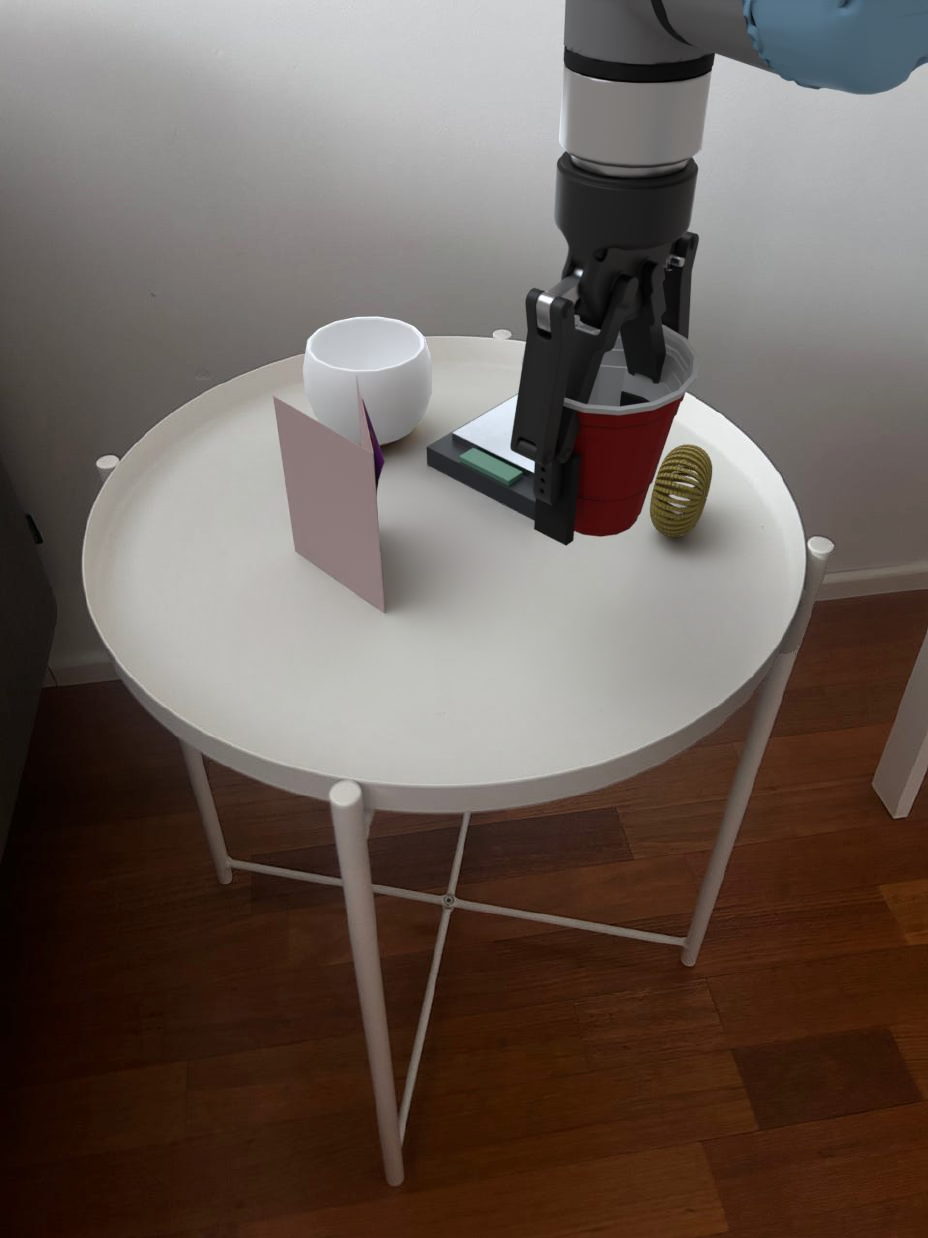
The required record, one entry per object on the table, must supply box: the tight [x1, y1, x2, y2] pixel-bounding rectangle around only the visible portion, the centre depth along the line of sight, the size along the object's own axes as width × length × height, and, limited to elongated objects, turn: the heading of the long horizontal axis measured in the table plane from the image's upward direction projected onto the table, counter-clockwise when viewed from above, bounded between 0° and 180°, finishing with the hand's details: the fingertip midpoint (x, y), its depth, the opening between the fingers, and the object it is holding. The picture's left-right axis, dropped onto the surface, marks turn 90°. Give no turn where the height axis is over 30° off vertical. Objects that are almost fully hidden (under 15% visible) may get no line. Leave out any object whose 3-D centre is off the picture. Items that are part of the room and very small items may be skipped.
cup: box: [302, 316, 433, 447], centre depth 98 cm, size 12×12×10 cm
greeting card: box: [272, 376, 386, 614], centre depth 79 cm, size 11×7×15 cm, turn 11°
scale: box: [426, 393, 536, 521], centre depth 96 cm, size 14×15×3 cm
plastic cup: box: [521, 321, 700, 538], centre depth 65 cm, size 11×11×12 cm
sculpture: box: [649, 443, 713, 538], centre depth 86 cm, size 8×4×8 cm, turn 155°
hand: (593, 505), depth 69 cm, fingers closed on plastic cup, 8 cm apart
